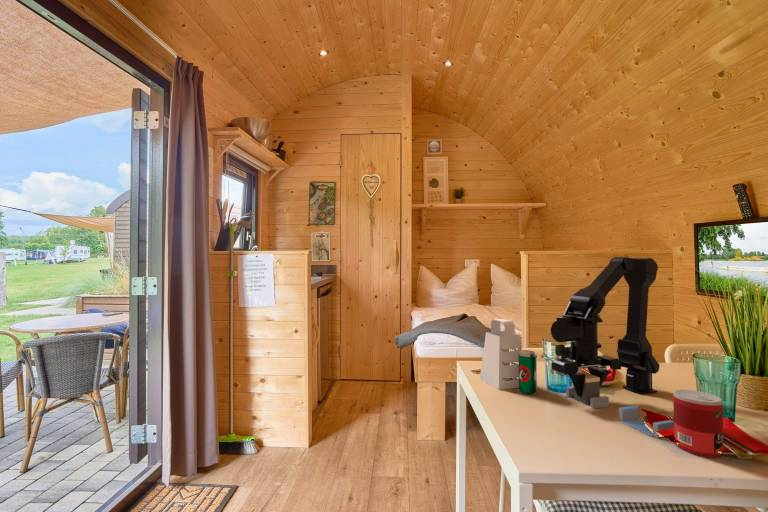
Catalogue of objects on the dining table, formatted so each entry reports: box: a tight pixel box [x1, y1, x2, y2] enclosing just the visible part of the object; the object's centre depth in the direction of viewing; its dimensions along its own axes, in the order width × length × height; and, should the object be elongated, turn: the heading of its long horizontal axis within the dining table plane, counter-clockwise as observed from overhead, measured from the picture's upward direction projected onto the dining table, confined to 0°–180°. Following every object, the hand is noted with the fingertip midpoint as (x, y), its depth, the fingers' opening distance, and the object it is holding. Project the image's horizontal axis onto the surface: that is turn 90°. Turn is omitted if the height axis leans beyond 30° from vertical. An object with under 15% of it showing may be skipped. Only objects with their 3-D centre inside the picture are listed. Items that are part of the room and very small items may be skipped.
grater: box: [479, 318, 523, 391], centre depth 126 cm, size 10×10×20 cm
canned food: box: [672, 389, 724, 458], centre depth 82 cm, size 8×8×11 cm
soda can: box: [518, 349, 538, 395], centre depth 117 cm, size 5×5×12 cm
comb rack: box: [565, 385, 674, 439], centre depth 100 cm, size 6×28×3 cm, turn 16°
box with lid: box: [573, 372, 601, 406], centre depth 109 cm, size 5×5×7 cm
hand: (586, 395), depth 109 cm, fingers closed on box with lid, 4 cm apart
